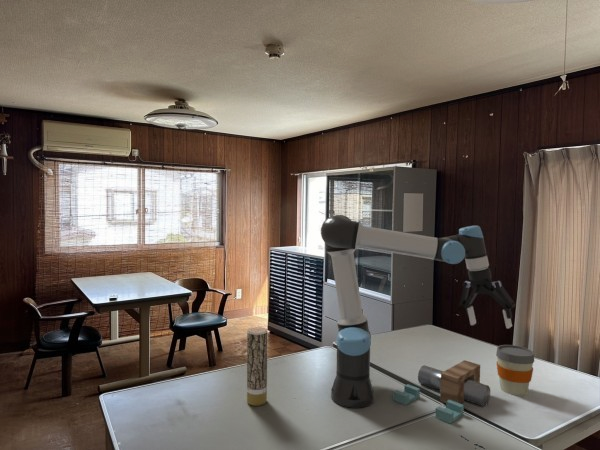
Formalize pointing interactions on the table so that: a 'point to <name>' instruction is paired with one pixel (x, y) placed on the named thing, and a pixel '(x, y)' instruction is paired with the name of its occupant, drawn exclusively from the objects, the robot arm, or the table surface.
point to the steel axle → (471, 388)
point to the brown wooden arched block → (458, 381)
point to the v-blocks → (447, 414)
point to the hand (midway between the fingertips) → (490, 325)
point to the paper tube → (256, 366)
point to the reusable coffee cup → (514, 368)
